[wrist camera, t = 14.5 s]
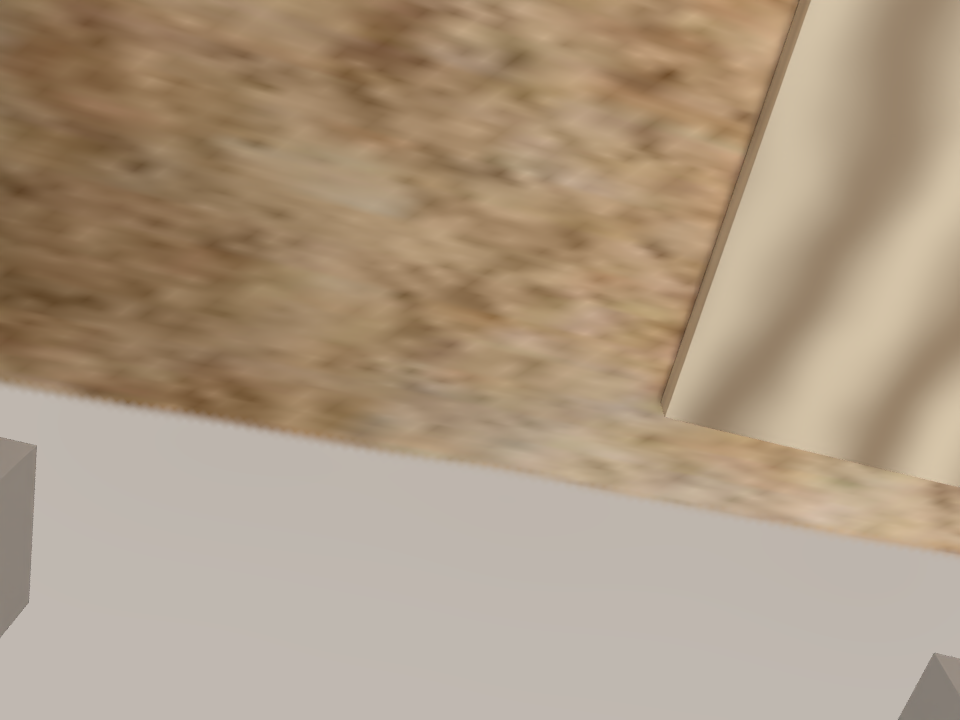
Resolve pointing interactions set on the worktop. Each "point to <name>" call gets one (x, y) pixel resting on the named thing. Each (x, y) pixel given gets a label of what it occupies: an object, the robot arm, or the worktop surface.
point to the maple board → (842, 250)
